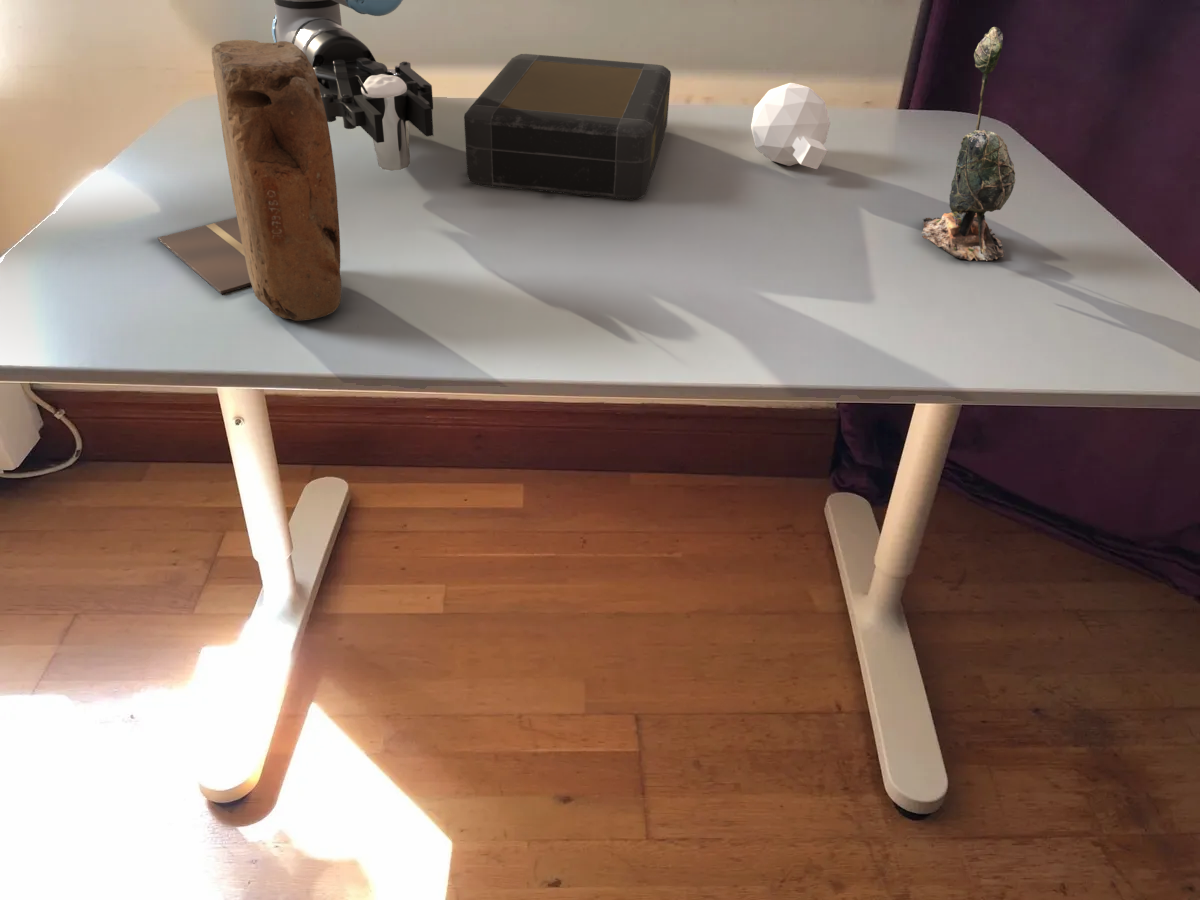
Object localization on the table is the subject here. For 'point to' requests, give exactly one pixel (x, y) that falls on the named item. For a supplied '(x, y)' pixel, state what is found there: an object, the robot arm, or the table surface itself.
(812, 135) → the perfume bottle
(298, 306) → the block
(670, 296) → the table surface
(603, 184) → the cash box
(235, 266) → the brown rectangular board
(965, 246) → the plant with pod
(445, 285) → the table surface
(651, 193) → the table surface
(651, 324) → the table surface
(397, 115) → the milkshake
